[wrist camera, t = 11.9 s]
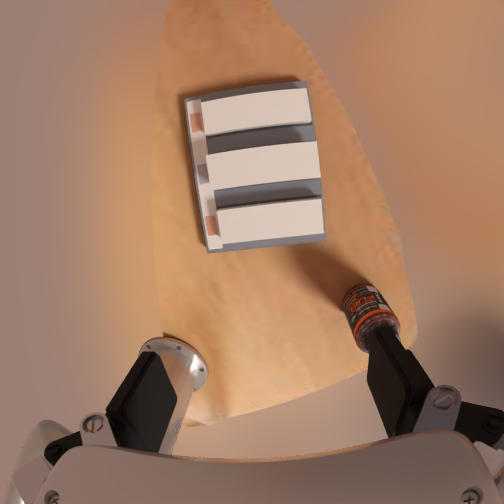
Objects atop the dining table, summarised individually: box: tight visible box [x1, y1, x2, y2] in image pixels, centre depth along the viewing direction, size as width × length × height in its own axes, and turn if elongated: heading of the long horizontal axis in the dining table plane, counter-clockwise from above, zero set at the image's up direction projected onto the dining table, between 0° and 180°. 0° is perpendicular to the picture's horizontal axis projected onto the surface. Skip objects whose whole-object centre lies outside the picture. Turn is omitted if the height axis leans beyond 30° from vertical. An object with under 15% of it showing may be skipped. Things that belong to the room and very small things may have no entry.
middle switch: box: [206, 141, 321, 191], centre depth 29 cm, size 4×12×2 cm, turn 98°
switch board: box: [184, 81, 326, 253], centre depth 32 cm, size 20×15×2 cm
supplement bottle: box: [343, 284, 401, 353], centre depth 32 cm, size 6×6×11 cm
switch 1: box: [201, 88, 312, 136], centre depth 28 cm, size 4×12×2 cm, turn 98°
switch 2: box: [217, 197, 324, 244], centre depth 32 cm, size 4×12×2 cm, turn 98°
